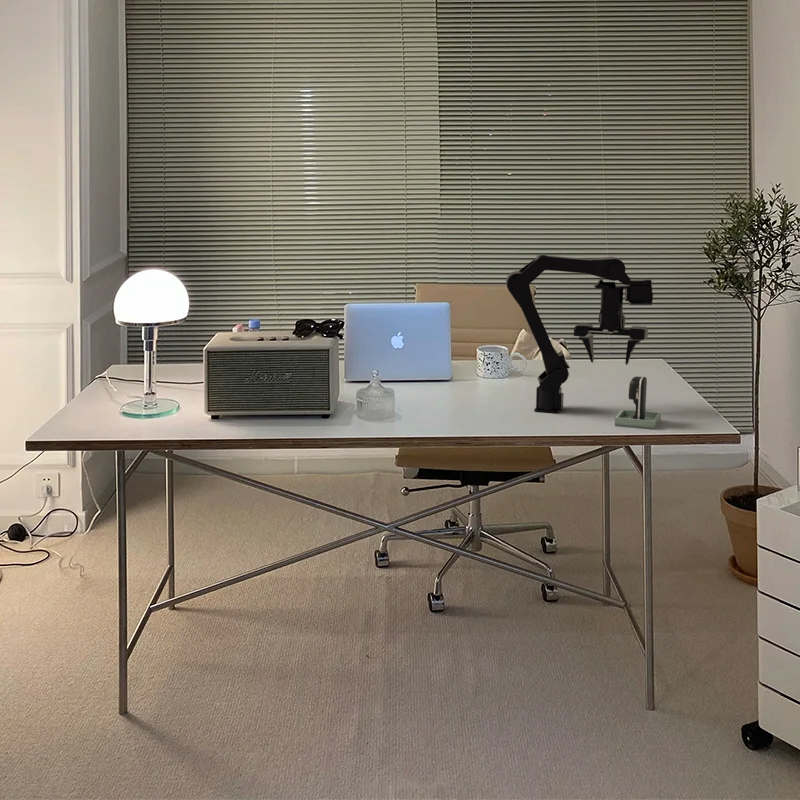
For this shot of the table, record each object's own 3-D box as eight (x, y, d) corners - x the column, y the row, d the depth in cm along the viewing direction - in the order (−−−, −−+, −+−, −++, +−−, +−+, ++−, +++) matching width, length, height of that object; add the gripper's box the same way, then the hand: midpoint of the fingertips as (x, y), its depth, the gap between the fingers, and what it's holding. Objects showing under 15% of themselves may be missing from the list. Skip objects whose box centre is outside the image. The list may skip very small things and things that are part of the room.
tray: (614, 425, 266) (614, 417, 266) (621, 417, 275) (622, 409, 275) (654, 429, 263) (654, 421, 262) (660, 420, 272) (661, 412, 271)
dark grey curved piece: (630, 417, 272) (632, 374, 270) (645, 418, 271) (647, 375, 269) (626, 423, 266) (628, 379, 264) (641, 424, 265) (643, 380, 262)
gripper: (652, 303, 280) (649, 360, 283) (583, 300, 287) (581, 356, 290) (645, 308, 270) (642, 367, 273) (574, 305, 277) (572, 363, 280)
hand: (609, 363), depth 280 cm, fingers open, 9 cm apart
